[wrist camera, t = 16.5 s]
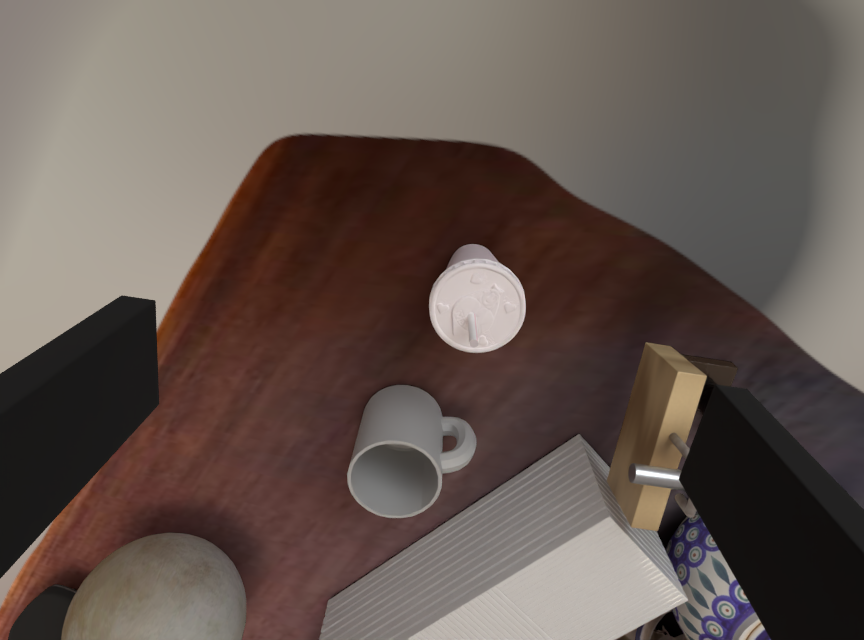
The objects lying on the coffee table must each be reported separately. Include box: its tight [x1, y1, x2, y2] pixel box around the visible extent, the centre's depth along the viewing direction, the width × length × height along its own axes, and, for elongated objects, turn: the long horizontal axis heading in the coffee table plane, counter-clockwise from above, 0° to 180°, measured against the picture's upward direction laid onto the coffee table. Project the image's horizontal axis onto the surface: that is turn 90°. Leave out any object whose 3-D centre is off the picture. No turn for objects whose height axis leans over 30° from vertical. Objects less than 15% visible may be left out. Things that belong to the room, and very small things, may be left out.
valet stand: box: [628, 354, 738, 491], centre depth 42 cm, size 4×12×16 cm, turn 81°
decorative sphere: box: [61, 533, 246, 640], centre depth 52 cm, size 15×15×15 cm
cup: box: [347, 385, 476, 518], centre depth 48 cm, size 7×10×9 cm
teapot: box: [635, 511, 771, 640], centre depth 49 cm, size 25×15×15 cm, turn 129°
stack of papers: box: [319, 434, 688, 640], centre depth 53 cm, size 32×11×11 cm, turn 131°
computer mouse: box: [8, 584, 77, 640], centre depth 60 cm, size 7×12×4 cm, turn 149°
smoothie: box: [429, 244, 526, 353], centre depth 40 cm, size 6×6×14 cm
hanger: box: [607, 343, 707, 531], centre depth 40 cm, size 12×2×11 cm, turn 171°
